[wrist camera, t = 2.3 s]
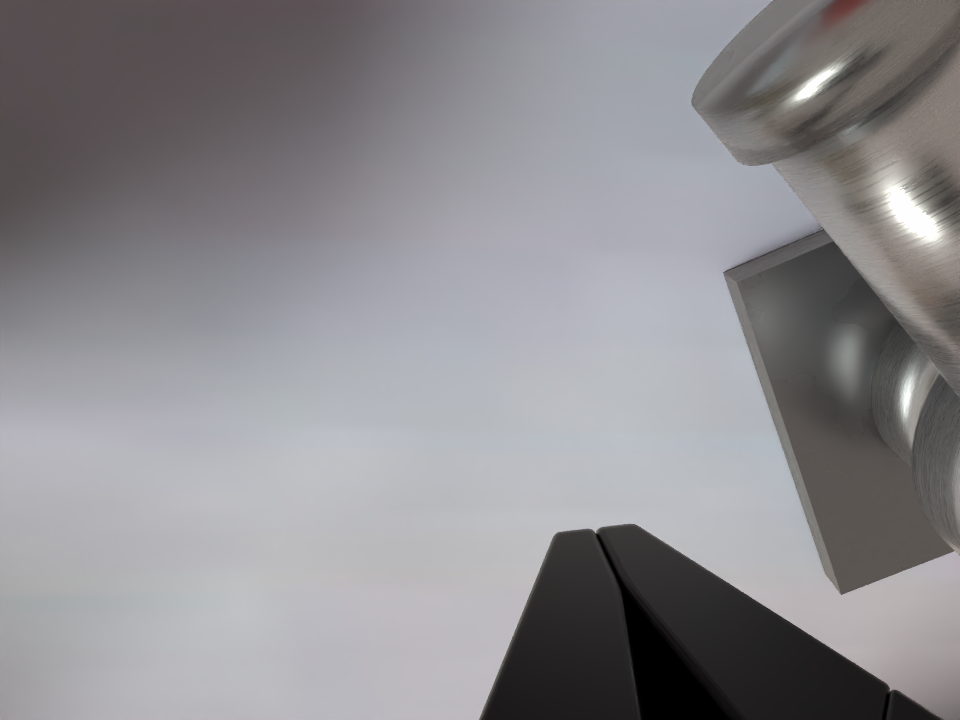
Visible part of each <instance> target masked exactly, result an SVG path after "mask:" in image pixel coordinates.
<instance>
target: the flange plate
mask: <svg viewBox="0 0 960 720" xmlns="http://www.w3.org/2000/svg"><path fill="white" fill-rule="evenodd" d="M724 276H725V279H726V282H727V285H728V288H729V291H730V294H731V297H732V300H733V303H734V306H735V309H736V311H737V314H738V317H739V320H740V323H741V326H742V329H743V332H744V335H745V338H746V341H747V344H748V347H749V350H750V353H751V356H752V359H753V362H754V365H755V368H756V370H757V373H758V376H759V379H760V382H761V385H762V388H763V391H764V394H765V397H766V400H767V403H768V406H769V409H770V412H771V415H772V418H773V421H774V424H775V427H776V429H777V432H778V435H779V438H780V441H781V444H782V447H783V450H784V453H785V456H786V459H787V462H788V465H789V468H790V471H791V474H792V477H793V480H794V483H795V485H796V488H797V491H798V494H799V497H800V500H801V503H802V506H803V509H804V512H805V515H806V518H807V521H808V524H809V527H810V530H811V533H812V536H813V539H814V542H815V544H816V547H817V550H818V553H819V556H820V559H821V562H822V565H823V568H824V571H825V574H826V575H827V577H828V578H829V579H830V581H831V582H832V583H833V584H834V586H835V587H836V588H837V590H838V591H839V592H840V594H841V595H842V594H845V593H847V592H850V591H852V590H855V589H858V588H860V587H863V586H865V585H868V584H871V583H873V582H876V581H878V580H881V579H883V578H886V577H889V576H891V575H894V574H896V573H899V572H902V571H904V570H907V569H909V568H912V567H915V566H917V565H920V564H922V563H925V562H927V561H930V560H933V559H935V558H938V557H940V556H943V555H946V554H948V553H951V552H953V551H955V550H954V549H953V548H951V547H950V546H949V545H948V544H947V543H946V542H945V541H944V540H943V539H942V538H941V537H940V536H939V535H938V534H937V533H936V532H935V530H934V529H933V528H932V526H931V525H930V524H929V522H928V521H927V519H926V517H925V515H924V513H923V511H922V509H921V507H920V505H919V503H918V499H917V496H916V493H915V490H914V485H913V478H912V471H911V459H912V445H913V438H914V432H915V428H916V425H917V421H918V418H919V415H920V411H921V409H922V407H923V404H924V402H925V400H926V397H927V395H928V393H929V391H930V389H931V387H932V386H933V384H934V382H935V380H936V379H937V377H938V375H939V372H938V371H937V370H936V368H935V367H934V366H933V365H932V363H931V362H930V361H929V360H928V358H927V357H926V356H925V355H924V353H923V352H922V351H921V350H920V348H919V347H918V346H917V345H916V343H915V342H914V341H913V340H912V338H911V337H910V336H909V335H908V333H907V332H906V331H905V330H904V328H903V327H902V326H901V325H900V323H899V322H898V321H897V320H896V318H895V317H894V316H893V315H892V313H891V312H890V311H889V310H888V308H887V307H886V306H885V305H884V303H883V302H882V301H881V300H880V298H879V297H878V296H877V295H876V293H875V292H874V291H873V290H872V288H871V287H870V286H869V285H868V283H867V282H866V281H865V280H864V278H863V277H862V276H861V275H860V273H859V272H858V271H857V270H856V268H855V267H854V266H853V265H852V263H851V262H850V261H849V260H848V258H847V257H846V256H845V255H844V253H843V252H842V251H841V250H840V248H839V247H838V246H837V245H836V243H835V242H834V241H833V240H832V238H831V237H830V236H829V235H828V233H827V232H826V231H825V230H822V231H819V232H817V233H815V234H812V235H810V236H808V237H805V238H803V239H801V240H798V241H796V242H794V243H791V244H789V245H787V246H784V247H782V248H780V249H777V250H775V251H773V252H770V253H768V254H766V255H763V256H761V257H759V258H756V259H754V260H752V261H749V262H747V263H745V264H742V265H740V266H738V267H735V268H733V269H731V270H728V271H726V272H724Z"/></svg>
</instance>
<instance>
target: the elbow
mask: <svg viewBox="0 0 960 720" xmlns="http://www.w3.org/2000/svg"><path fill="white" fill-rule="evenodd" d="M691 101H692V106H693V107H694V109H695V110H696V111H697V112H698V114H699V115H700V116H701V117H702V118H703V120H704V121H705V122H706V123H707V125H708V126H709V127H710V128H711V129H712V131H713V132H714V133H715V134H716V136H717V137H718V138H719V139H720V141H721V142H722V143H723V144H724V145H725V147H726V148H727V149H728V150H729V152H730V153H731V154H732V155H733V156H734V158H735V159H736V160H737V161H738V162H739V163H741V164H743V165H749V166H756V165H764V164H769V163H772V165H773V166H774V167H775V168H776V170H777V171H778V172H779V173H780V175H781V176H782V177H783V178H784V180H785V181H786V182H787V183H788V185H789V186H790V187H791V188H792V190H793V191H794V192H795V193H796V195H797V196H798V197H799V198H800V200H801V201H802V202H803V203H804V205H805V206H806V207H807V208H808V210H809V211H810V212H811V213H812V215H813V216H814V217H815V218H816V220H817V221H818V222H819V223H820V225H821V226H822V227H823V228H824V230H825V231H826V232H827V233H828V235H829V236H830V237H831V238H832V240H833V241H834V242H835V243H836V245H837V246H838V247H839V248H840V250H841V251H842V252H843V253H844V255H845V256H846V257H847V258H848V260H849V261H850V262H851V263H852V265H853V266H854V267H855V268H856V270H857V271H858V272H859V273H860V275H861V276H862V277H863V278H864V280H865V281H866V282H867V283H868V285H869V286H870V287H871V288H872V290H873V291H874V292H875V293H876V295H877V296H878V297H879V298H880V300H881V301H882V302H883V303H884V305H885V306H886V307H887V308H888V310H889V311H890V312H891V313H892V315H893V316H894V317H895V318H896V320H897V321H898V322H899V323H900V325H901V326H902V327H903V328H904V330H905V331H906V332H907V333H908V335H909V336H910V337H911V338H912V340H913V341H914V342H915V343H916V345H917V346H918V347H919V348H920V350H921V351H922V352H923V353H924V355H925V356H926V357H927V358H928V360H929V361H930V362H931V363H932V365H933V366H934V367H935V368H936V370H937V371H938V372H939V375H938V377H937V379H936V380H935V382H934V384H933V386H932V387H931V389H930V391H929V393H928V395H927V397H926V400H925V402H924V404H923V407H922V409H921V411H920V415H919V418H918V421H917V425H916V428H915V432H914V438H913V445H912V459H911V471H912V478H913V485H914V490H915V493H916V496H917V499H918V503H919V505H920V507H921V509H922V511H923V513H924V515H925V517H926V519H927V521H928V522H929V524H930V525H931V526H932V528H933V529H934V530H935V532H936V533H937V534H938V535H939V536H940V537H941V538H942V539H943V540H944V541H945V542H946V543H947V544H948V545H949V546H950V547H951V548H953V549H954V550H955V551H956V552H957V553H958V554H959V555H960V0H773V1H772V2H771V3H770V4H769V5H768V6H767V7H766V8H764V9H763V10H762V11H761V12H760V13H759V14H758V15H757V16H756V17H755V18H754V19H753V20H752V21H751V22H750V23H749V24H748V25H746V26H745V27H744V28H743V29H742V30H741V31H740V32H739V34H738V35H737V36H736V37H735V38H734V39H733V40H732V41H731V42H730V43H729V44H728V45H727V46H726V47H725V48H724V50H723V51H722V52H721V53H720V54H719V55H718V57H717V58H716V59H715V60H714V61H713V63H712V64H711V65H710V66H709V68H708V69H707V70H706V72H705V73H704V75H703V76H702V78H701V79H700V81H699V83H698V84H697V86H696V88H695V90H694V93H693V95H692V100H691Z"/></svg>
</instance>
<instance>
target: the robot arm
mask: <svg viewBox="0 0 960 720" xmlns="http://www.w3.org/2000/svg"><path fill="white" fill-rule="evenodd" d="M479 720H944V719H942V718H941V717H939V716H937V715H936V714H934V713H932V712H931V711H929V710H928V709H926V708H925V707H923V706H921V705H920V704H918V703H917V702H915V701H914V700H912V699H910V698H909V697H907V696H906V695H904V694H902V693H901V692H899V691H898V690H892V691H890V688H889V686H888V685H887V684H886V683H885V682H883V681H881V680H880V679H878V678H877V677H875V676H874V675H872V674H870V673H869V672H867V671H866V670H864V669H863V668H861V667H859V666H858V665H856V664H855V663H853V662H852V661H850V660H848V659H847V658H845V657H844V656H842V655H841V654H839V653H837V652H836V651H834V650H833V649H831V648H830V647H828V646H826V645H825V644H823V643H822V642H820V641H819V640H817V639H815V638H814V637H812V636H811V635H809V634H808V633H806V632H804V631H803V630H801V629H800V628H798V627H797V626H795V625H793V624H792V623H790V622H789V621H787V620H785V619H784V618H782V617H781V616H779V615H778V614H776V613H774V612H773V611H771V610H770V609H768V608H767V607H765V606H763V605H762V604H760V603H759V602H757V601H756V600H754V599H752V598H751V597H749V596H748V595H746V594H745V593H743V592H741V591H740V590H738V589H737V588H735V587H734V586H732V585H730V584H729V583H727V582H726V581H724V580H723V579H721V578H719V577H718V576H716V575H715V574H713V573H712V572H710V571H708V570H707V569H705V568H704V567H702V566H701V565H699V564H697V563H696V562H694V561H693V560H691V559H690V558H688V557H686V556H685V555H683V554H682V553H680V552H679V551H677V550H675V549H674V548H672V547H671V546H669V545H668V544H666V543H664V542H663V541H661V540H660V539H658V538H656V537H655V536H653V535H652V534H650V533H649V532H647V531H645V530H644V529H642V528H641V527H639V526H637V525H635V524H624V525H615V526H607V527H601V528H599V529H598V530H597V531H596V533H595V532H594V531H593V530H591V529H581V530H572V531H564V532H558V533H556V534H555V535H554V537H553V539H552V541H551V544H550V546H549V549H548V551H547V554H546V556H545V559H544V561H543V563H542V566H541V568H540V571H539V573H538V576H537V578H536V581H535V583H534V586H533V588H532V591H531V593H530V595H529V598H528V600H527V603H526V605H525V608H524V610H523V613H522V615H521V618H520V620H519V623H518V625H517V628H516V630H515V632H514V635H513V637H512V640H511V642H510V645H509V647H508V650H507V652H506V655H505V657H504V660H503V662H502V665H501V667H500V669H499V672H498V674H497V677H496V679H495V682H494V684H493V687H492V689H491V692H490V694H489V697H488V699H487V701H486V704H485V706H484V709H483V711H482V714H481V716H480V719H479Z"/></svg>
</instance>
